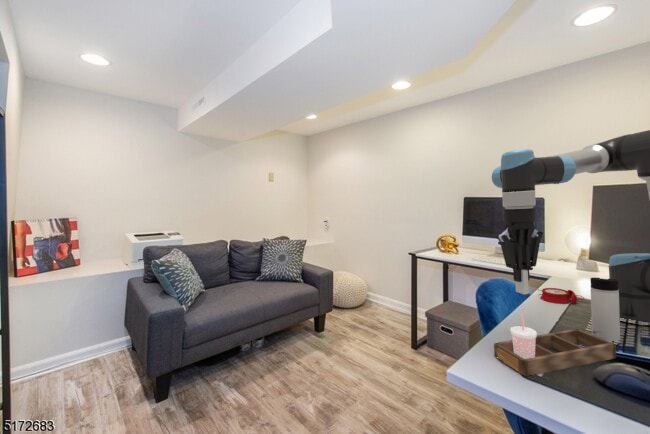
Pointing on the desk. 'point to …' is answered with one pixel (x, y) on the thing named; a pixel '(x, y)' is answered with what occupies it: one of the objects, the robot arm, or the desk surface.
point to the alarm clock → (559, 296)
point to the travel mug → (605, 309)
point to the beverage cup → (523, 340)
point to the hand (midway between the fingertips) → (522, 292)
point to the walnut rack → (564, 359)
